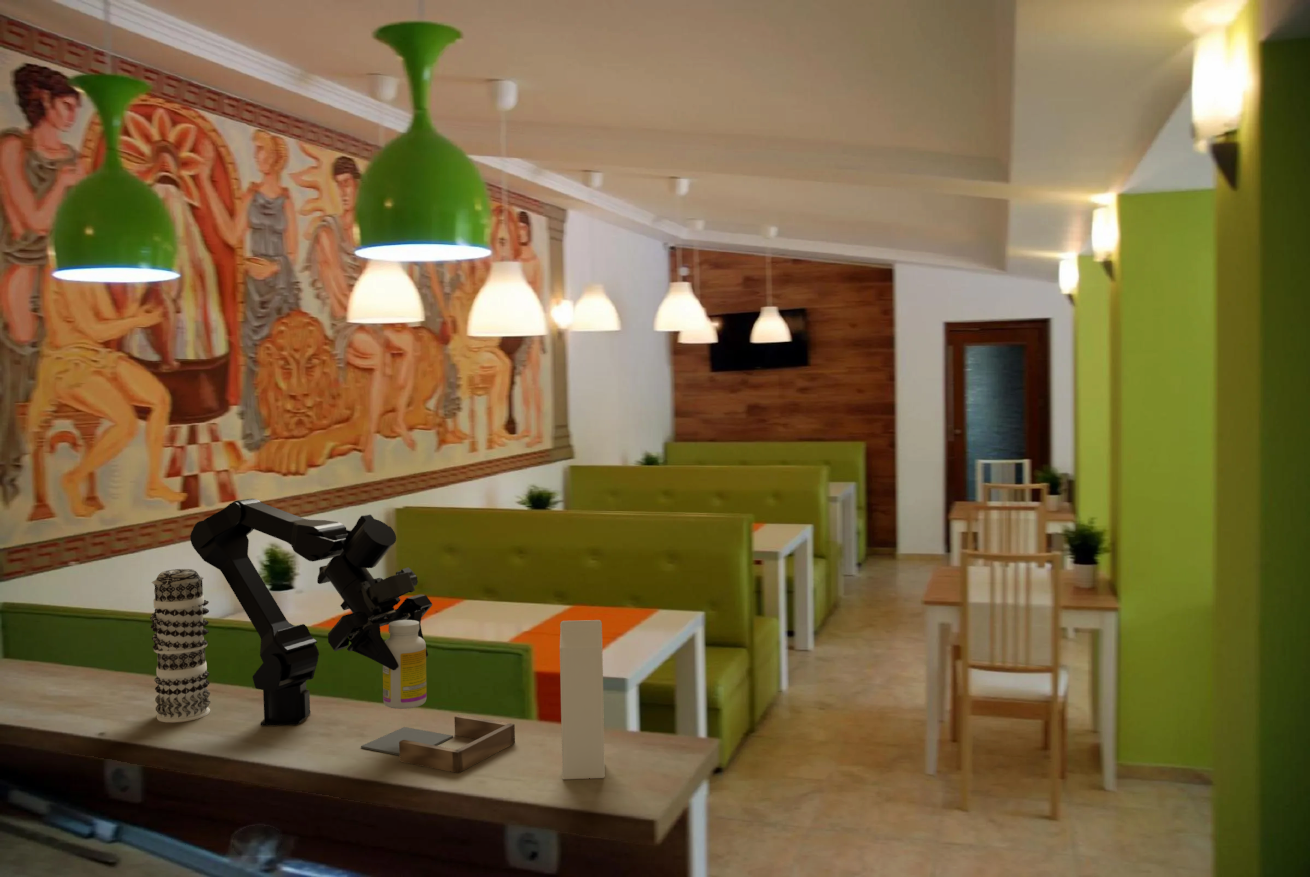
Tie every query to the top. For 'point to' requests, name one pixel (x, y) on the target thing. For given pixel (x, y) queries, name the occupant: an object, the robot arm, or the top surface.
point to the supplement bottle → (405, 667)
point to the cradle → (487, 744)
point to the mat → (392, 740)
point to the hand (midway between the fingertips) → (411, 663)
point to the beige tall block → (582, 699)
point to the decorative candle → (180, 646)
